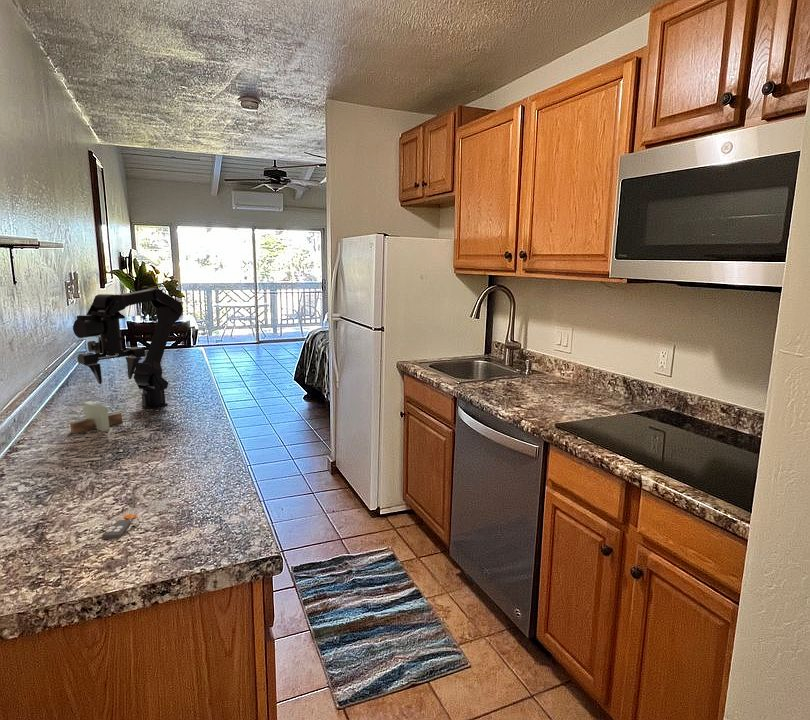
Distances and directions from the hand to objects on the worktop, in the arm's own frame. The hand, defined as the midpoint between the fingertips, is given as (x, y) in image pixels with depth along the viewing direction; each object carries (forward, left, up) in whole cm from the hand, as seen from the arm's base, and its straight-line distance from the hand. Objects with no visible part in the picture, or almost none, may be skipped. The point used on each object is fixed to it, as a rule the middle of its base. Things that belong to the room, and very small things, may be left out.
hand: (115, 381), depth 169 cm
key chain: (+31, +74, -13) cm, 81 cm away
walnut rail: (+9, +6, -12) cm, 16 cm away
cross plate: (+9, +6, -12) cm, 16 cm away
